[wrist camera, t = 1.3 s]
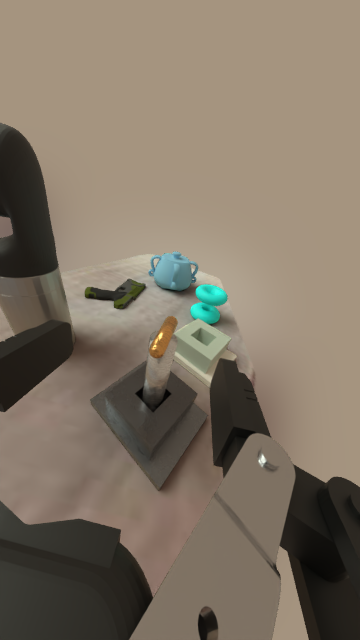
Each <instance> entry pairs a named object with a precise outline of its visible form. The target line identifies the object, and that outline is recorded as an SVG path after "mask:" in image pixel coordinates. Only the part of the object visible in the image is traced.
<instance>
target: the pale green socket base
mask: <svg viewBox="0 0 360 640" xmlns="http://www.w3.org/2000/svg"><path fill="white" fill-rule="evenodd" d="M173 334H174V335H175V336H176V337H177V339H178V343H177V347H176V351H175V355H174V360H175V361H176V362H178V363H179V364H180V365H181V366H183V367H184V368H185V369H186V370H188V371H189V372H190V373H191V374H193V375H194V376H195V377H196V378H198V379H199V380H200V381H202V382H203V383H204V384H205V385H207V386H208V387H209V388H210V385H211V380H212V377H213V375H214V372H215V369H216V366H217V363H218V361H219V359H220V358H224V359H228V360H232V361H234V360H235V359H236V357H237V356H236V355H235V354H233V353H232V352H230V351H229V350H227V349H226V348H227V346H228V344H229V342H230V340H231V338H230V337H228V336H227V335H225V334H223V333H222V332H220V331H218V330H217V329H215V328H214V327H212V326H210V325H209V324H207V323H205V322H204V321H202V320H200V319H199V318H197V319H196V320H194V321H193V322H191V323H190V324H187V325H186V326H184V327H183V328H181V329H179V330H178V331H176V332H175V333H173Z"/></svg>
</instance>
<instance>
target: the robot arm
mask: <svg viewBox="0 0 360 640" xmlns="http://www.w3.org/2000/svg"><path fill="white" fill-rule="evenodd" d="M0 216H2V217H9V218H10V219H11V223H12V229H13V234H12V235H11V236H8V237H3V238H0V307H1V309H2V311H3V313H4V315H5V316H6V318H7V320H8V322H9V324H10V326H11V328H12V330H13V332H14V334H15V336H14V337H13V336H12V337H10V338H8V339H6V340H5V341H2V342H0V411H2V412H6V411H7V410H8V409H9V408H10V407H11V406H13V405H14V404H15V403H16V402H17V401H19V400H20V399H21V398H22V397H23V396H24V395H26V394H27V393H28V392H29V391H30V390H32V389H33V388H34V387H35V386H36V385H37V384H39V383H40V382H41V381H42V380H43V379H45V378H46V377H47V376H48V375H49V374H50V373H52V372H53V371H54V370H55V369H56V368H57V367H59V366H60V365H61V364H62V363H63V362H65V361H66V360H67V359H68V358H69V357H70V355H71V354H72V351H73V344H74V343H75V334H74V330H73V326H72V321H71V317H70V312H69V308H68V304H67V300H66V295H65V291H64V287H63V282H62V278H61V274H60V270H59V266H58V261H57V256H56V248H55V241H54V236H53V231H52V226H51V221H50V215H49V209H48V202H47V196H46V190H45V185H44V180H43V176H42V172H41V168H40V165H39V162H38V160H37V157H36V154H35V152H34V151H33V149H32V147H31V145H30V143H29V142H28V141H27V139H26V138H25V137H24V136H23V135H22V134H21V133H20V132H19V131H17V130H16V129H14V128H13V127H10V126H8V125H5V124H2V123H0ZM254 392H255V391H254V389H253V386H252V383H251V381H250V380H249V379H248V378H247V376H246V375H245V374H244V373H240V372H239V371H238V368H237V364H236V362H235V361H232V360H228V359H224V358H220V359H219V361H218V363H217V366H216V369H215V372H214V375H213V377H212V380H211V385H210V406H211V424H212V443H213V462H214V465H215V466H219V467H223V477H224V479H223V481H222V482H221V484H220V486H219V487H218V489H217V491H216V492H215V494H214V496H213V498H212V499H211V501H210V503H209V504H208V506H207V508H206V509H205V511H204V513H203V515H202V516H201V518H200V520H199V521H198V523H197V525H196V526H195V528H194V530H193V531H192V533H191V535H190V537H189V538H188V540H187V542H186V543H185V545H184V547H183V548H182V550H181V552H180V553H179V555H178V557H177V559H176V560H175V562H174V564H173V565H172V567H171V569H170V570H169V572H168V574H167V575H166V577H165V579H164V581H163V582H162V584H161V586H160V587H159V589H158V591H157V592H156V594H155V596H154V598H153V596H152V593H151V590H150V587H149V584H148V582H147V580H146V577H145V575H144V573H143V571H142V569H141V567H140V566H139V564H138V562H137V561H136V559H135V558H134V557H133V555H132V554H131V553H130V552H129V551H128V549H127V548H125V547H124V546H123V545H122V544H121V543H120V533H121V530H120V529H116V528H112V527H109V526H105V525H101V524H97V523H93V522H90V521H86V520H82V519H74V520H66V521H58V522H50V523H42V524H34V525H28V524H25V523H23V522H22V521H21V520H20V519H19V518H18V517H17V516H16V515H15V514H14V513H13V512H12V511H10V510H9V509H8V508H7V507H6V506H5V505H4V504H3V503H2V502H1V501H0V640H272V636H273V631H274V626H275V620H276V615H277V610H278V605H279V599H280V590H281V578H280V574H279V572H278V570H277V568H276V559H277V553H278V549H279V546H281V547H282V548H283V549H285V550H286V551H287V552H288V556H289V560H290V564H291V568H292V572H293V576H294V580H295V585H296V589H297V593H298V597H299V601H300V605H301V609H302V613H303V617H304V621H305V625H306V629H307V634H308V638H309V640H360V487H358V486H357V485H356V484H354V483H352V482H351V481H349V480H347V479H344V478H342V477H333V478H331V479H330V480H329V481H328V482H327V483H325V482H323V481H321V480H319V479H318V478H316V477H314V476H312V475H311V474H309V473H307V472H305V471H304V470H302V469H300V468H299V467H297V466H295V465H294V464H293V463H292V461H291V459H290V457H289V456H288V454H287V453H286V451H285V450H284V449H283V448H282V447H281V445H280V444H278V443H277V442H276V441H275V440H273V439H272V438H271V436H270V433H269V430H268V428H267V425H266V422H265V419H264V417H263V414H262V411H261V408H260V405H259V402H257V397H256V394H255V393H254Z"/></svg>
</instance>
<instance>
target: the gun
mask: <svg viewBox="0 0 360 640" xmlns="http://www.w3.org/2000/svg"><path fill="white" fill-rule="evenodd" d="M144 288H145V284H143V283H142V284H141V283H138V282H136V281H133V280H132V279H128V280H127V281H126V282H125V283H123V284H122V285H121V286H119V287H118V288H117V289H116V290H115V291H110V290H101V289H98V288H93V287H87V288H86V290H85V297H86V298H95V299H101V300H113V301H114V308H117V309H118V308H120V309H122V308H124V307H125V306H126V305H127V304H128V303H129V302H130V301H131V300H132V299H133V300H135V299H136V298H135V297H136V296H137V295H138V294H139V293H140V292H141V291H142V290H143V289H144Z"/></svg>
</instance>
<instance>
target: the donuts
mask: <svg viewBox="0 0 360 640" xmlns="http://www.w3.org/2000/svg"><path fill="white" fill-rule="evenodd" d="M196 296H197V298H198V299H199V300H200V301H202V302H203V303H196V304H194V305H193V306H192V307H191V310H190V311H191V315H192V317H193V318H194V319H197V318H199V319H200V320H202V321H204V322H205V323H207V324H213V323H216V322H217V321H218V320H219V318H220V313H219V311H218V310H217V308H216V307H214V306H220V305H223V304H224V303H225V302H226V301H227V294H226V292H225V291H224V290H222V289H221V288H219V287H217V286H213V285H208V284H205V285H200V286H199V287H198V288H197V289H196Z"/></svg>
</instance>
